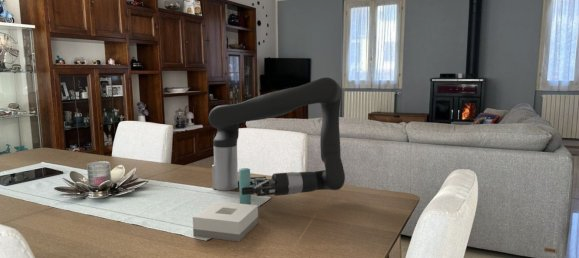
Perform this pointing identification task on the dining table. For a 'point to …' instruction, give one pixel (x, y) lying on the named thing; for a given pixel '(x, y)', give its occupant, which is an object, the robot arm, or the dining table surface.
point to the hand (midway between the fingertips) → (239, 187)
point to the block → (225, 221)
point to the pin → (244, 185)
